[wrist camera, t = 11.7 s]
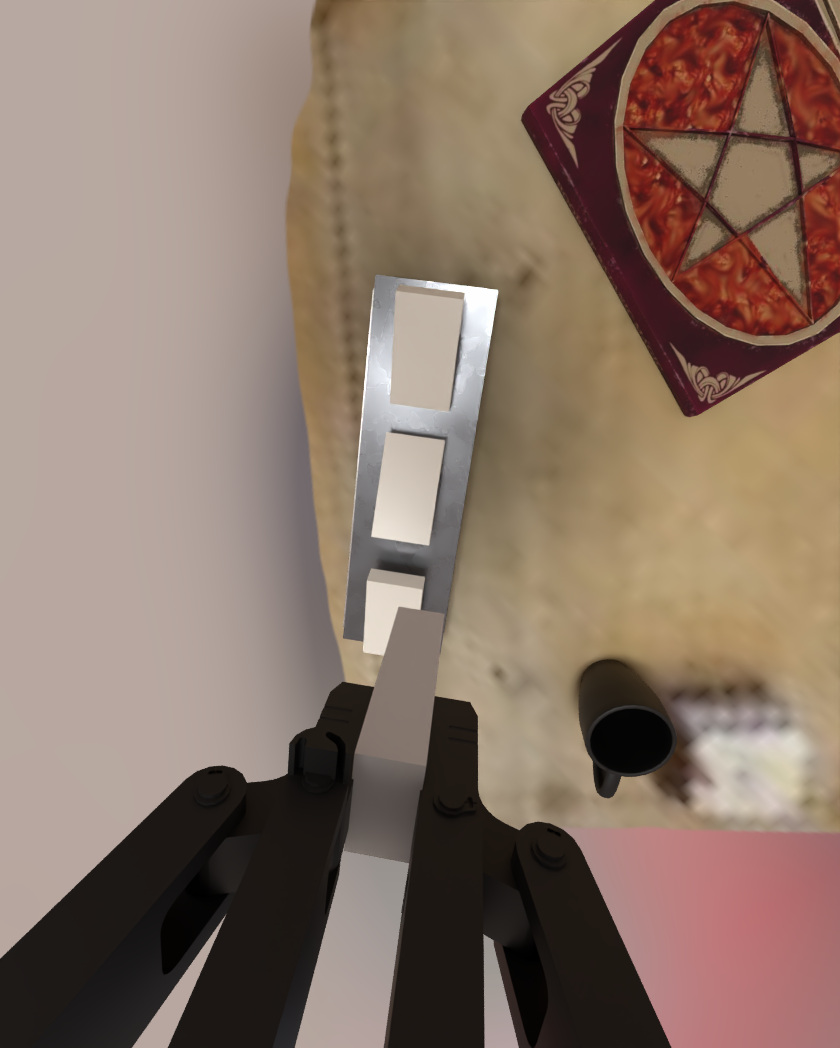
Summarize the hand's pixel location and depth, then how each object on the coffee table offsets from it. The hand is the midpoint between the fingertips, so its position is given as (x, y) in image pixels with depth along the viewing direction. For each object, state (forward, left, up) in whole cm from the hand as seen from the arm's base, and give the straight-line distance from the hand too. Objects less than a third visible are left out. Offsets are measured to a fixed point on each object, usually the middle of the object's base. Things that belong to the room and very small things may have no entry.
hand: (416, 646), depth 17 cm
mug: (+25, +20, -37) cm, 49 cm away
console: (+3, -4, -36) cm, 37 cm away
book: (-24, +19, -37) cm, 48 cm away
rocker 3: (+15, -4, -31) cm, 35 cm away
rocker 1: (-9, -4, -31) cm, 33 cm away
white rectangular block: (+3, -3, -31) cm, 32 cm away
